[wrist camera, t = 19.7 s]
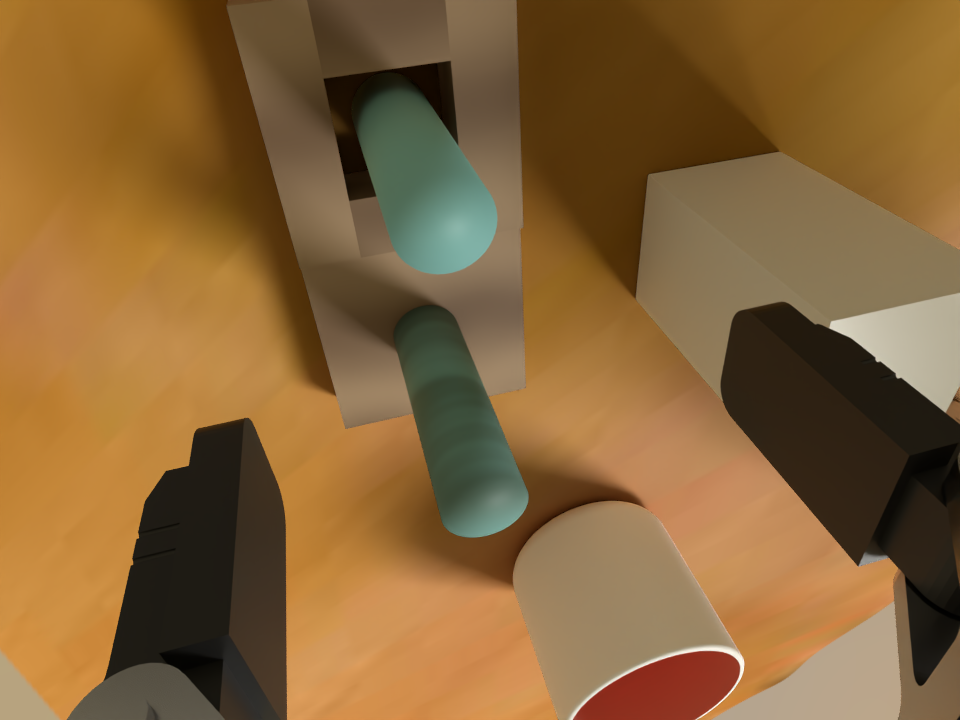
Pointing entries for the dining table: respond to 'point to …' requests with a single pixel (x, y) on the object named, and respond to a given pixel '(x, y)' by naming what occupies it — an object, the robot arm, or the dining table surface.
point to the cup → (621, 619)
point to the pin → (421, 178)
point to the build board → (367, 48)
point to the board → (395, 290)
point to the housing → (796, 267)
